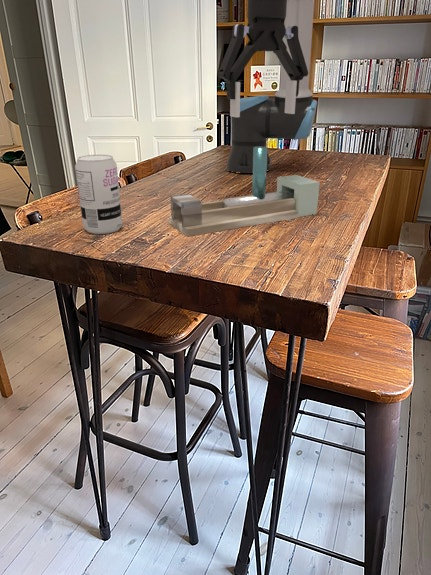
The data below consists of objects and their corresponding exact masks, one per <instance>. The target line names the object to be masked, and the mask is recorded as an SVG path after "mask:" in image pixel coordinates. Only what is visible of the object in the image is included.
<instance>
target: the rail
mask: <svg viewBox="0 0 431 575" xmlns="http://www.w3.org/2000/svg"><path fill="white" fill-rule="evenodd" d="M223 200H224V199H223ZM223 200H222V199H221V200H215V201H207V202H202V200H200V199H198V198H196V197H194V196H193V195H191V194H189V193H182V194H175V195H170V212H171V214H170V216H168V221H169V223H168V224H170V225H171V226H172V227H174V228H175V229H176V230H178V231H179V232H180V233H182V234H183V235H185V236H187V237H191V236H199V235H203V234H204V235H205V234H210V233H215V232H216V233H217V232H222V231H229V230H234V229H235V230H236V229H240V228H245V227H252V226H257V225H262V224H264V225H265V224H270V223H275V222H281V221H286V220H287V221H288V220H292V219H297V218H299V217H298V211H296V210H295V199H293V198H289V199H282V200H275V201H268V202H262V203H255V204H248V205H241V206H234V207H227V208H222V202H223Z"/></svg>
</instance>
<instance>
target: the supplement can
mask: <svg viewBox="0 0 431 575" xmlns="http://www.w3.org/2000/svg"><path fill="white" fill-rule="evenodd" d="M117 165H118V164H117V162H116V161H115V159H114V158H113V155H110V154H86V155H82V156H77V158H76V163H75V165H74V166H75V168H74V170H75V176H76V184H77V190H78V197H79V206H80V211H81V212H80V213H81V219H82V220H81V221H82V227H83V229H84V230H86V232H88V233H90V234H94V235H105V234H106V235H107V234H112V233H115V232H118V231H119V230H120V229H121V228H122V226H123V224H124V223H123V217H122V216H123V215H122V204H121V197H120V185H119V176H118V167H117Z"/></svg>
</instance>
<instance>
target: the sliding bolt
mask: <svg viewBox="0 0 431 575" xmlns="http://www.w3.org/2000/svg"><path fill="white" fill-rule="evenodd" d="M267 151H268V147H261V146H259V147H254V150H253V174H252V182H251V184H252V187H251V188H252V190H251V194H252V195H243V196H237V197H235V196H234V197H230V198H224V199H223V202H222V208H227V207H234V206H241V205H248V204H255V203H262V202H268V201H275V200H282V199H289V198H293V199H294V190H286V191H279V192H277V191H272V192H267V193H266V189H267V188H266V186H267V172H266V170H267Z"/></svg>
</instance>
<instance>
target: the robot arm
mask: <svg viewBox="0 0 431 575" xmlns="http://www.w3.org/2000/svg"><path fill="white" fill-rule="evenodd" d="M246 5H247V8H246V10H247V12H246V17H247V25H244V24H243V23H239V24H234V25H233V26H232V33H231V38H230V42H229V44H228V47H227V49H226V52H225V54H224V56H223V59H222V62H221V64H220V67H219V70H218V73H217V77H218V78H219V79H222V80H224V81H225V83H226V98H227V100H230V101H229V107H230V108H229V116H230V117H231V147H230V151H229V154H228V157H227V160H226V163H225V165H226V166H225V169H227V170H229V171H233V172H240V173H253V150H254V147H259V146H261V147H267V143H268V142H267V141H268V139H273V140H274V139H278V140H279V139H280V140H294V141H296V140H306V139H308V138H309V137H310V136H311V133H312V129H313V125H314V121H315V115H316V111H317V105H318V101H317V100H315V99H313V96H314V94H313V92H312V91H311V90H310V89H309V81H310V68H311V55H312V54H311V52H312V40H313V37H312V36H313V24H314V21H313V20H314V10H315V0H247V4H246ZM246 36H247V38H248V40H247V43H246V44H245V46H244V47H243V50H242V52H240V55H239V56H238V54H239V51H240V49H241V46H242V44H243V41H244V38H245V37H246ZM257 52H273V53H274V54H275V55H276V57H277V59H278V60H279V62H280V76H279V77H280V81H279V88H278V90H277V91H276V92H275V93H274V99H270V97H269V95H268V94H264V95H263V94H262V95H256V96H255V95H254V96H249V97H243V98H241V81H238V78H239V77H240V76H241V74H242V73H243V71H244V70H245V68H246V67H247V65H248V63H250V61H251V59H252V58H253V56H254V55H255V54H256V53H257ZM237 57H238V58H237ZM267 148H268V147H267ZM270 169H271V170H272V163H271V158H270V156H269V151H268V150H267V170H270ZM227 170H226V171H227ZM267 170H266V171H267ZM229 171H228V172H229Z"/></svg>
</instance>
